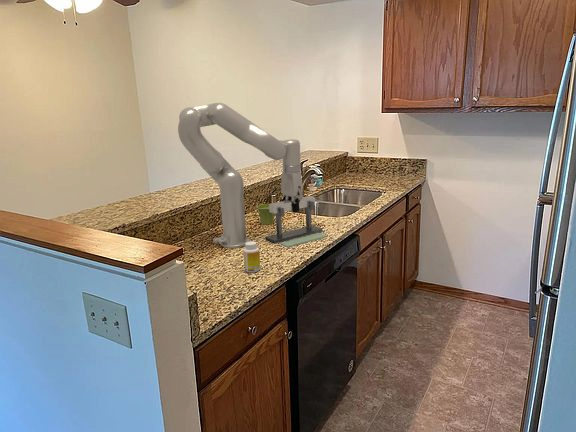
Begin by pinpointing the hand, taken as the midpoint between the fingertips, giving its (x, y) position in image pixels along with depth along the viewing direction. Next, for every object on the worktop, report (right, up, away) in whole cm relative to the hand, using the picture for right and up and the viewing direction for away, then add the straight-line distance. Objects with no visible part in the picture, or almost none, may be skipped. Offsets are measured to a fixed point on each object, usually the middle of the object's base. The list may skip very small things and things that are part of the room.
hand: (293, 210), depth 192 cm
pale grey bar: (0, +1, 0) cm, 1 cm away
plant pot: (-12, -6, +24) cm, 28 cm away
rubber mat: (+5, -13, -4) cm, 14 cm away
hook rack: (+1, -11, +3) cm, 11 cm away
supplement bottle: (-15, -22, -34) cm, 43 cm away
